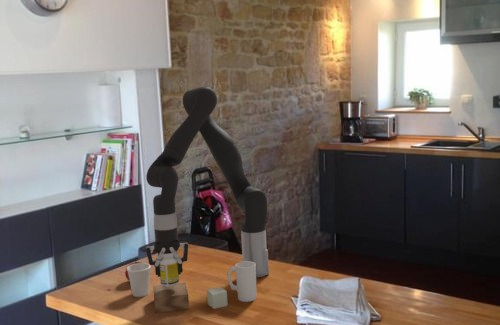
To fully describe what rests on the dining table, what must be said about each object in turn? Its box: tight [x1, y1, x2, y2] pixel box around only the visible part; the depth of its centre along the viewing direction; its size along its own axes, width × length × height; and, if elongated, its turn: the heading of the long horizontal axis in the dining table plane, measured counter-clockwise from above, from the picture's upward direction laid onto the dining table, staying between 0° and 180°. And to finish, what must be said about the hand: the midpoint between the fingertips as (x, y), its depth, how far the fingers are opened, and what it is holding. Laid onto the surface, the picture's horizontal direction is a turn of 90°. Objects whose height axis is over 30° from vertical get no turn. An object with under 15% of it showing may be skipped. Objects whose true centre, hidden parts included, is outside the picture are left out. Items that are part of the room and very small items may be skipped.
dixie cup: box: [126, 262, 152, 298], centre depth 200 cm, size 8×8×10 cm
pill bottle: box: [159, 253, 180, 287], centre depth 188 cm, size 6×6×11 cm
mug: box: [227, 260, 257, 303], centre depth 191 cm, size 10×7×12 cm, turn 71°
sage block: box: [206, 286, 228, 310], centre depth 187 cm, size 5×5×5 cm
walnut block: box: [152, 282, 190, 314], centre depth 189 cm, size 11×11×5 cm
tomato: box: [124, 261, 143, 282], centre depth 212 cm, size 9×9×8 cm
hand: (169, 274), depth 188 cm, fingers closed on pill bottle, 6 cm apart
